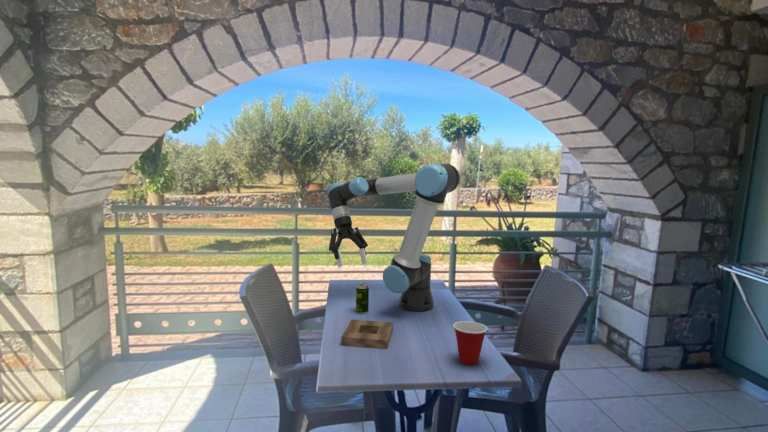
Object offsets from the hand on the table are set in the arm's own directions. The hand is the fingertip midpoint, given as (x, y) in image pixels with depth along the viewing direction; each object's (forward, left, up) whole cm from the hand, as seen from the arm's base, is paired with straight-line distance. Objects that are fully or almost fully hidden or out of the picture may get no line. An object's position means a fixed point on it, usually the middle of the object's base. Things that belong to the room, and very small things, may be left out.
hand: (353, 265), depth 178 cm
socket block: (-12, +28, -19) cm, 36 cm away
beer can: (-5, +4, -19) cm, 20 cm away
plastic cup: (-47, +40, -19) cm, 65 cm away
